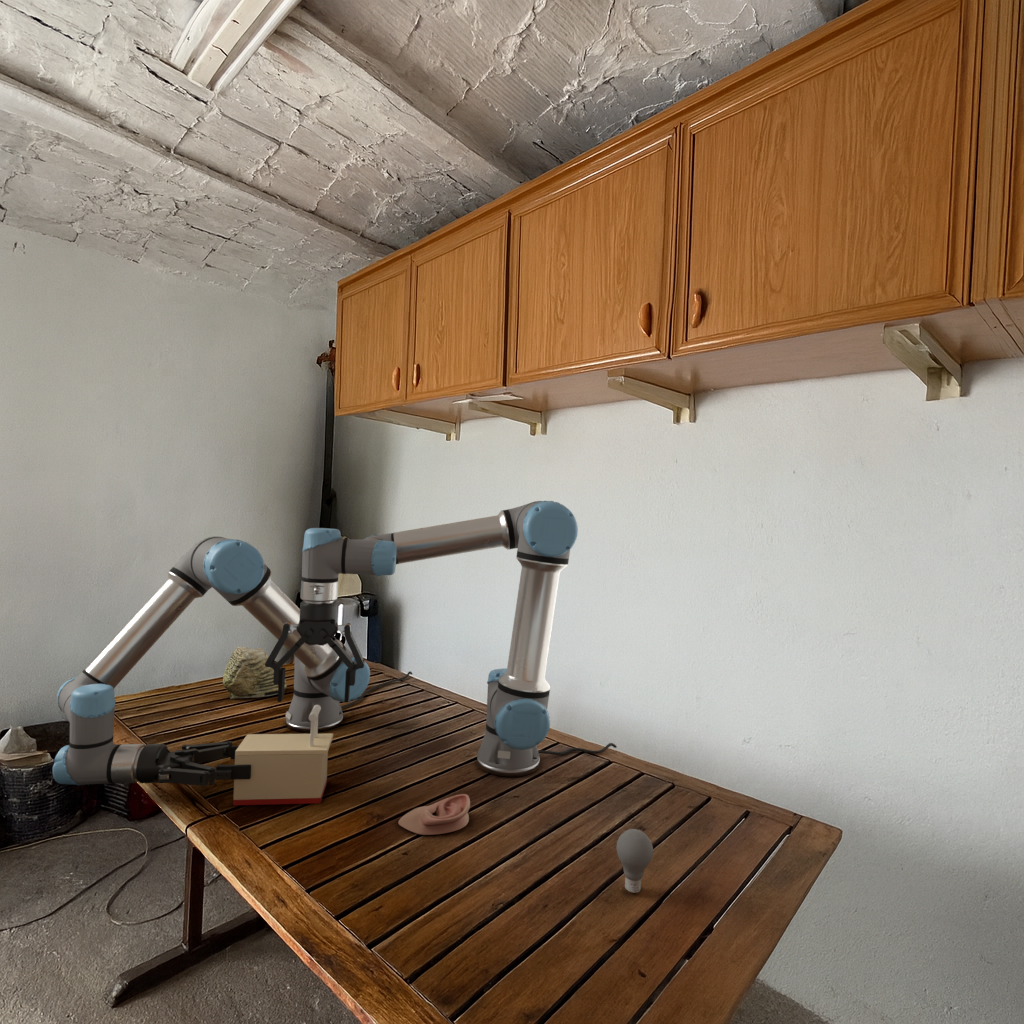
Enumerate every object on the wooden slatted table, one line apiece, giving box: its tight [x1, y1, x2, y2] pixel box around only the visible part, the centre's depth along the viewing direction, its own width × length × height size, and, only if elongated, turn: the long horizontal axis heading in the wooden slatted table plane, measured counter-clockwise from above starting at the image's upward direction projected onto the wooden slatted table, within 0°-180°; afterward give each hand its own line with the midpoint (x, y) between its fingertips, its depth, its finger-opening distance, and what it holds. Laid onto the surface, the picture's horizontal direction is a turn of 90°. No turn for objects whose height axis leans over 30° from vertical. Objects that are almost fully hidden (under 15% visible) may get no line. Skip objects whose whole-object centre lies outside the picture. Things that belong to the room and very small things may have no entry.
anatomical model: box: [397, 793, 471, 836], centre depth 125 cm, size 13×4×12 cm
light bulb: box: [615, 828, 654, 894], centre depth 106 cm, size 6×6×10 cm
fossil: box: [222, 646, 288, 699], centre depth 198 cm, size 9×18×15 cm, turn 132°
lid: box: [235, 705, 334, 755], centre depth 134 cm, size 18×9×8 cm, turn 99°
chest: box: [232, 752, 329, 806], centre depth 134 cm, size 17×9×10 cm, turn 99°
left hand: (256, 761), depth 133 cm, fingers closed on chest, 9 cm apart
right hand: (314, 700), depth 135 cm, fingers open, 13 cm apart
